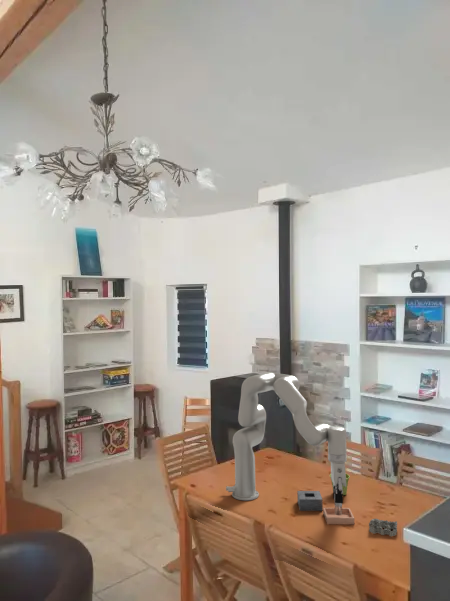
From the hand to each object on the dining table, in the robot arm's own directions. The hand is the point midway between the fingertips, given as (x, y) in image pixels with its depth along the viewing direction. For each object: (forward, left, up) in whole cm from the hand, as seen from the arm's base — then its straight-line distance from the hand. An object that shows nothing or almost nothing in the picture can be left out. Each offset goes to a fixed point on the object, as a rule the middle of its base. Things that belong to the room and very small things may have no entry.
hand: (338, 500), depth 209 cm
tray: (0, 0, -8) cm, 8 cm away
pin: (0, 0, -6) cm, 6 cm away
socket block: (-10, +13, -8) cm, 18 cm away
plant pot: (+6, +28, -8) cm, 30 cm away
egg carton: (+16, -11, -8) cm, 21 cm away
